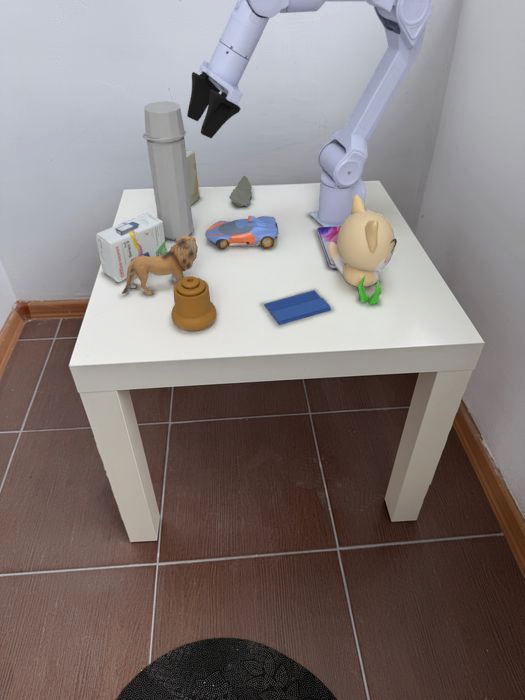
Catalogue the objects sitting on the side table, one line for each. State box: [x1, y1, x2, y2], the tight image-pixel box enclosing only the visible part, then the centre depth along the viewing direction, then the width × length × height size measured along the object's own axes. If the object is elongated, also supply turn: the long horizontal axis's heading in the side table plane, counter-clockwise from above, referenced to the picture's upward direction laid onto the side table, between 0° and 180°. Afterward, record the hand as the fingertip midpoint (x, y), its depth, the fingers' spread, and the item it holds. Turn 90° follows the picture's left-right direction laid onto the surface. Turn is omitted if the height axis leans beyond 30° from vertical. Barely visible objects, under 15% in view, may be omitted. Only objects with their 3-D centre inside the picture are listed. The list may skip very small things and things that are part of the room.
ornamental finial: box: [170, 275, 217, 332], centre depth 83 cm, size 8×8×8 cm
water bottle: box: [142, 100, 194, 241], centre depth 99 cm, size 9×8×25 cm
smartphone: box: [316, 226, 347, 269], centre depth 103 cm, size 7×1×15 cm
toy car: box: [204, 215, 280, 250], centre depth 103 cm, size 8×15×5 cm, turn 95°
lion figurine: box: [121, 235, 199, 296], centre depth 90 cm, size 15×5×9 cm, turn 116°
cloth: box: [264, 289, 332, 326], centre depth 88 cm, size 10×6×1 cm, turn 115°
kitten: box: [328, 195, 398, 306], centre depth 89 cm, size 15×10×15 cm
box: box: [186, 149, 200, 206], centre depth 115 cm, size 5×4×11 cm
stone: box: [228, 175, 253, 208], centre depth 119 cm, size 13×2×5 cm
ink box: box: [95, 212, 168, 283], centre depth 95 cm, size 9×5×12 cm
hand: (198, 127), depth 91 cm, fingers open, 7 cm apart
